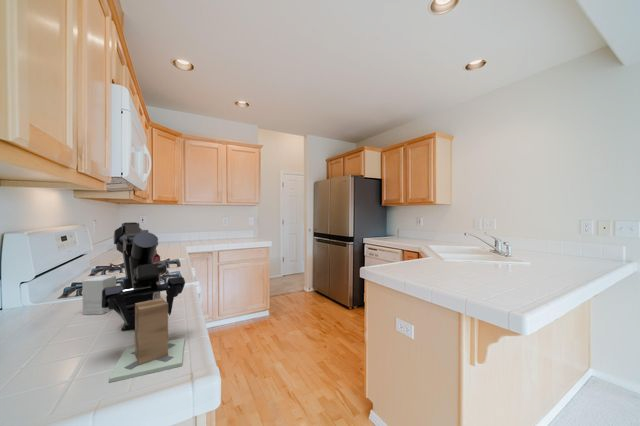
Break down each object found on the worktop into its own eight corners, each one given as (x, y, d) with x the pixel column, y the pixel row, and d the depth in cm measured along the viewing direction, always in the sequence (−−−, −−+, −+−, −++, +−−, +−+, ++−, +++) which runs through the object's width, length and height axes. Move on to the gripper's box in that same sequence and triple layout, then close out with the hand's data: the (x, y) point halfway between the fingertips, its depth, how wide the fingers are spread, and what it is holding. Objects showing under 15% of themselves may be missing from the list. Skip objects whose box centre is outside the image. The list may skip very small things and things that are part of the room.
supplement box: (117, 307, 103) (117, 275, 103) (102, 314, 95) (102, 280, 95) (98, 307, 102) (98, 275, 102) (81, 315, 95) (81, 280, 95)
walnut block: (135, 354, 65) (135, 303, 66) (162, 346, 70) (162, 298, 70) (139, 364, 61) (139, 309, 61) (168, 355, 65) (167, 303, 65)
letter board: (124, 352, 69) (124, 348, 69) (184, 340, 75) (184, 337, 75) (108, 382, 56) (108, 378, 56) (182, 366, 62) (182, 362, 62)
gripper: (102, 256, 65) (104, 312, 57) (183, 249, 78) (195, 294, 70) (100, 281, 71) (102, 336, 63) (176, 271, 83) (186, 315, 75)
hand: (150, 318), depth 67 cm, fingers open, 9 cm apart
